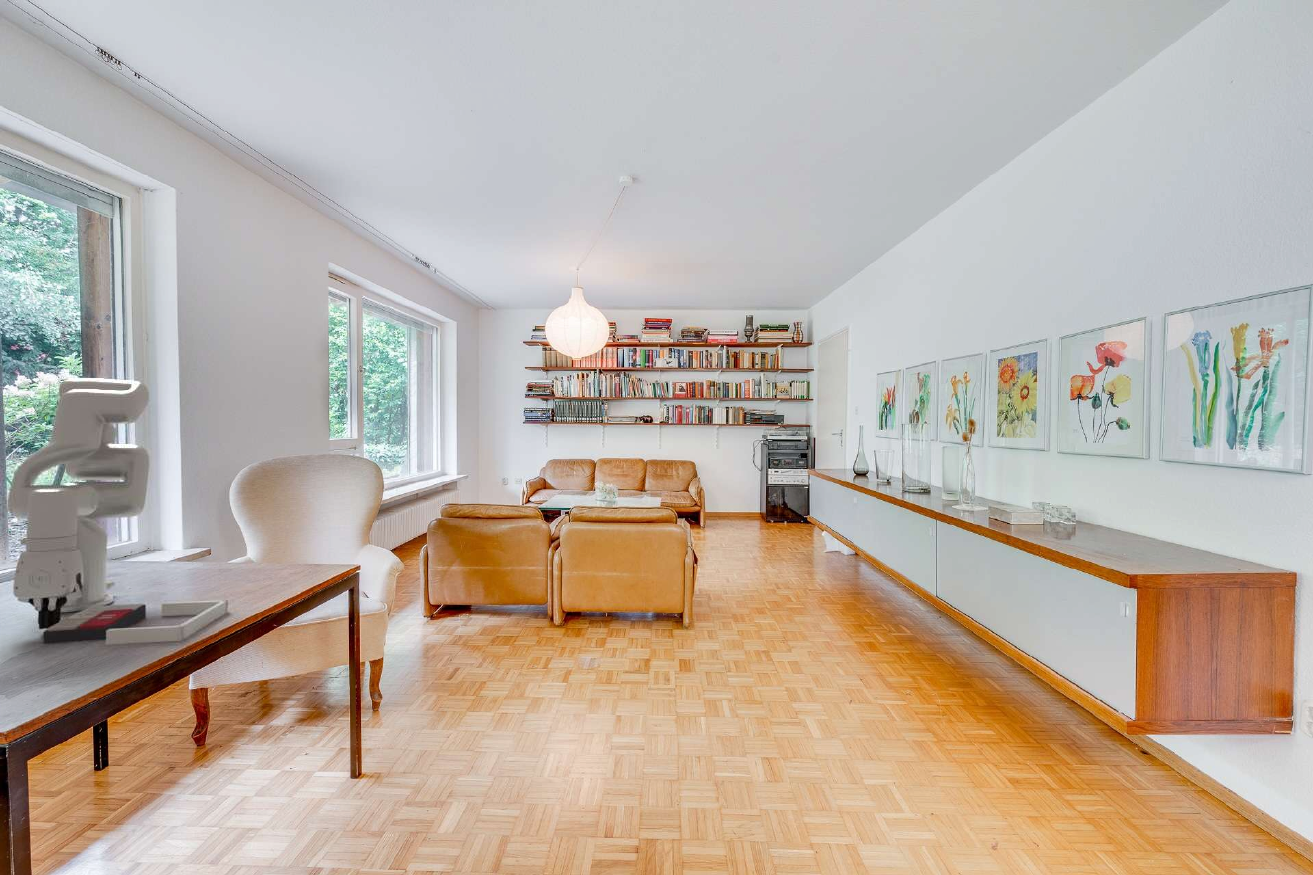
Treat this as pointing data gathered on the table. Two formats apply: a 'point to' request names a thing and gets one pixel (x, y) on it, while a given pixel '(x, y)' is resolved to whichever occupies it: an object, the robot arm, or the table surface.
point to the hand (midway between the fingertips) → (49, 626)
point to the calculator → (94, 623)
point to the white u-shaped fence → (171, 633)
